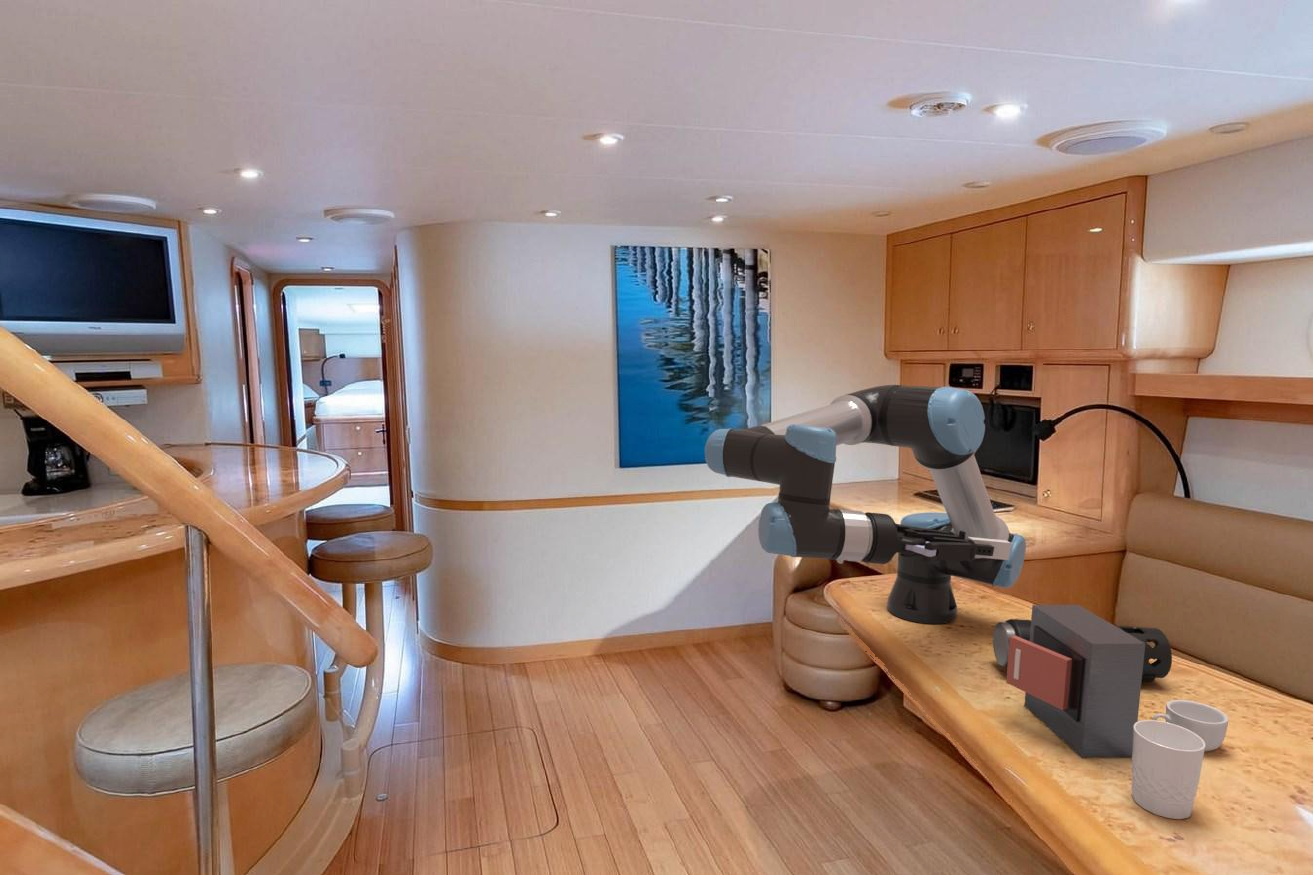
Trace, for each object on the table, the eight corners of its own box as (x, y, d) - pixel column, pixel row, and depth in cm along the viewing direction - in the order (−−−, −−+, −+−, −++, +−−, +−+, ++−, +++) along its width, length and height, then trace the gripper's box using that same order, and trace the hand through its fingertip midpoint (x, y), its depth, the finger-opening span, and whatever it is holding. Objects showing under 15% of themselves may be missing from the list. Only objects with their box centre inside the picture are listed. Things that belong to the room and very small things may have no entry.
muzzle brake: (1170, 693, 131) (1175, 638, 129) (1006, 683, 134) (1010, 629, 132) (1141, 670, 140) (1146, 618, 139) (989, 661, 143) (992, 610, 142)
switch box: (1022, 705, 125) (1030, 605, 123) (1069, 705, 126) (1078, 604, 123) (1080, 758, 109) (1090, 643, 107) (1133, 757, 110) (1145, 643, 107)
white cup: (1113, 787, 102) (1119, 720, 101) (1165, 785, 103) (1173, 718, 102) (1156, 824, 94) (1163, 752, 93) (1212, 821, 95) (1221, 749, 94)
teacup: (1206, 733, 117) (1209, 701, 116) (1236, 759, 110) (1240, 726, 109) (1138, 727, 119) (1141, 696, 118) (1163, 753, 111) (1167, 720, 110)
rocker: (1005, 682, 121) (1009, 636, 120) (1011, 681, 121) (1014, 635, 120) (1061, 710, 112) (1066, 660, 111) (1067, 708, 112) (1072, 658, 111)
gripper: (842, 548, 116) (979, 560, 119) (876, 575, 103) (1029, 587, 106) (849, 502, 115) (987, 516, 118) (885, 523, 102) (1038, 538, 105)
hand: (1007, 550), depth 112 cm, fingers closed
